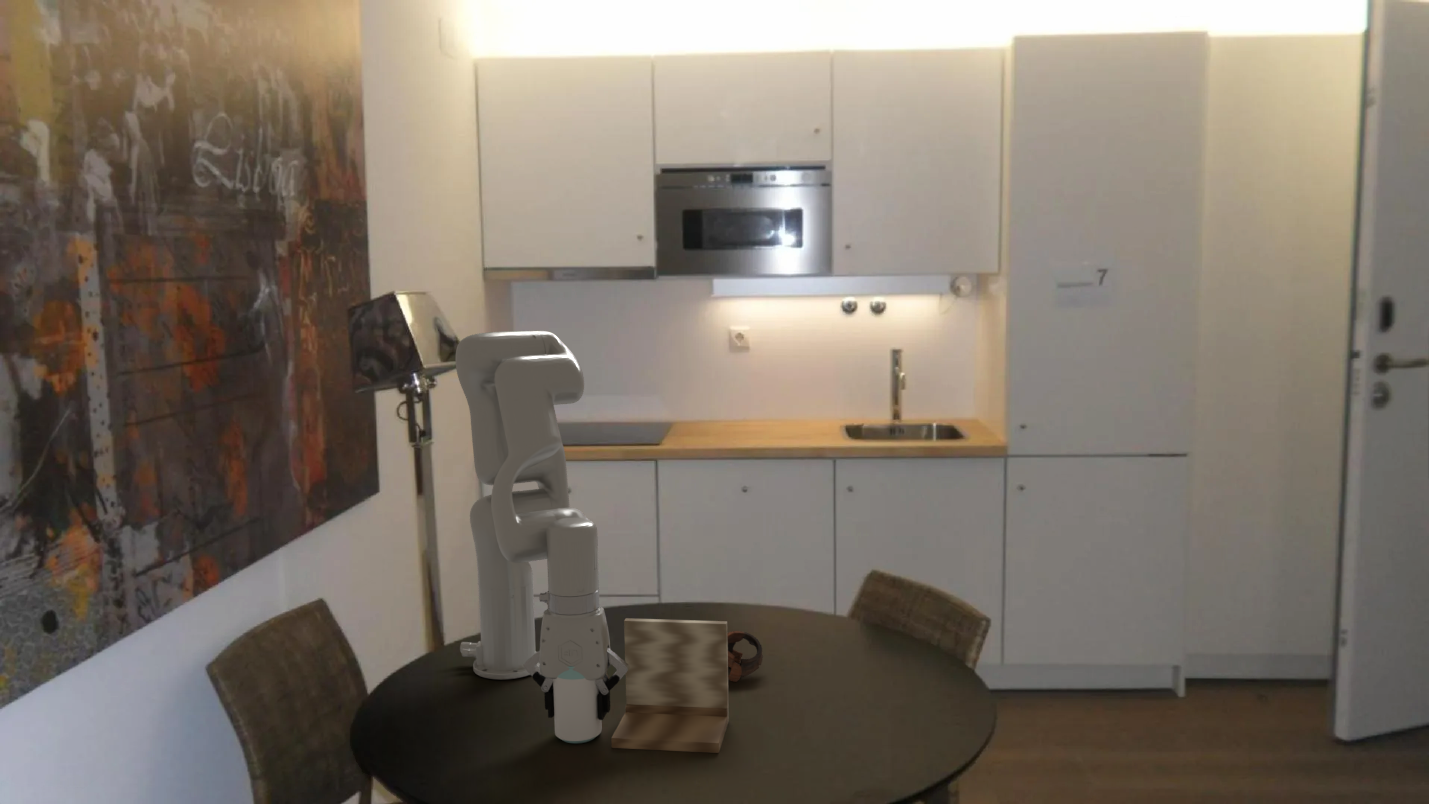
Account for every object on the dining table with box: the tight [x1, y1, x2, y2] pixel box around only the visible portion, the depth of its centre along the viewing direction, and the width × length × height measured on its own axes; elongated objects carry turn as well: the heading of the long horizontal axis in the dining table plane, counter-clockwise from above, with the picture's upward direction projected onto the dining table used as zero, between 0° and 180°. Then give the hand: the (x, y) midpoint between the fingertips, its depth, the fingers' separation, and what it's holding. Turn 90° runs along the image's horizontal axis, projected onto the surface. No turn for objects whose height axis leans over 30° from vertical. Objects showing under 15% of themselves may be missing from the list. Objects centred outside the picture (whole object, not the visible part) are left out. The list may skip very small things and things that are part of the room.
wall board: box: [610, 617, 730, 754], centre depth 157 cm, size 16×11×16 cm
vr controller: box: [727, 630, 764, 683], centre depth 182 cm, size 12×10×8 cm
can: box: [553, 666, 603, 744], centre depth 158 cm, size 7×7×12 cm
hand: (577, 714), depth 158 cm, fingers closed on can, 7 cm apart
